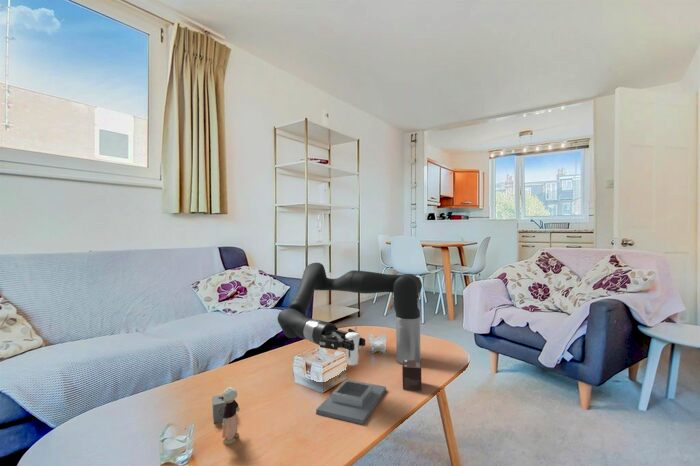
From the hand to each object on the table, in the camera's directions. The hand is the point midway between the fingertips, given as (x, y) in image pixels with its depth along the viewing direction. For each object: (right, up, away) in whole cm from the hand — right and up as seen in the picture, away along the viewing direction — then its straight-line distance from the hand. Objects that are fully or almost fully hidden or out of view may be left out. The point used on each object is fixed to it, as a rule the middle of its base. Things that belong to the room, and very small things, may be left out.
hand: (359, 344), depth 97 cm
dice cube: (-38, -18, -5) cm, 42 cm away
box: (+18, -17, +11) cm, 27 cm away
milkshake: (-2, -6, +2) cm, 7 cm away
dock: (-2, -17, +2) cm, 18 cm away
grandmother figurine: (-32, -18, -15) cm, 40 cm away
